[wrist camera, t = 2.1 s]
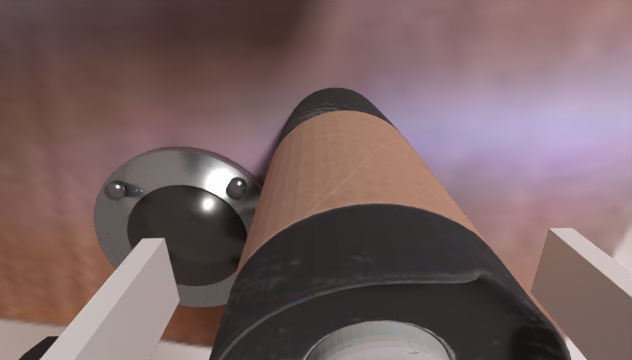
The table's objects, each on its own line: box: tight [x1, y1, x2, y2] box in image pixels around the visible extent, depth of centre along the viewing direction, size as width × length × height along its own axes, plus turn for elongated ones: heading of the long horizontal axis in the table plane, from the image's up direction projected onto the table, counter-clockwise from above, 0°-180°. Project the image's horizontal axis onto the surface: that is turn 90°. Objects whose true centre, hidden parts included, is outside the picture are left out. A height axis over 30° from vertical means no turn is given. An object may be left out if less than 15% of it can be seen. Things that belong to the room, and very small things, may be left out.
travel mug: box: [209, 88, 571, 360], centre depth 16 cm, size 8×8×20 cm
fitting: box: [94, 147, 263, 307], centre depth 26 cm, size 15×22×6 cm
